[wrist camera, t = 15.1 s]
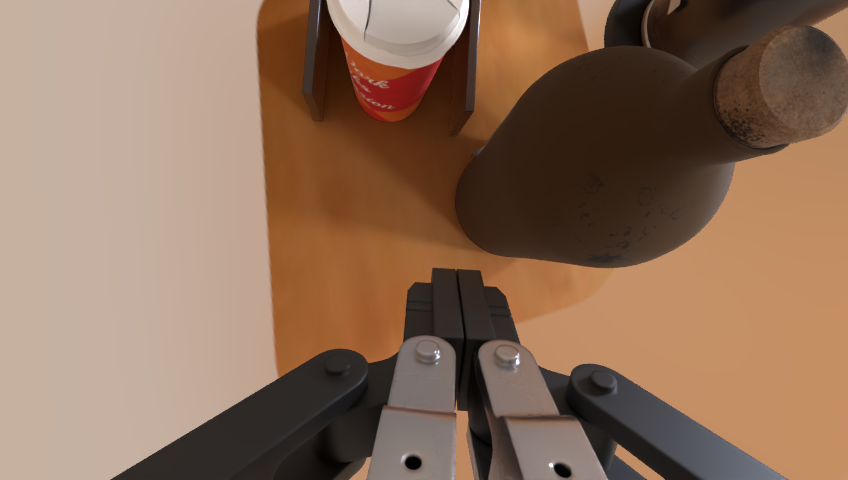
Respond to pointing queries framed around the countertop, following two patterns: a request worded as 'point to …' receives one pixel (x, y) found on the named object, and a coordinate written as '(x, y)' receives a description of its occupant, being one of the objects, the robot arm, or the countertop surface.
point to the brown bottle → (642, 146)
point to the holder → (461, 71)
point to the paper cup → (395, 49)
